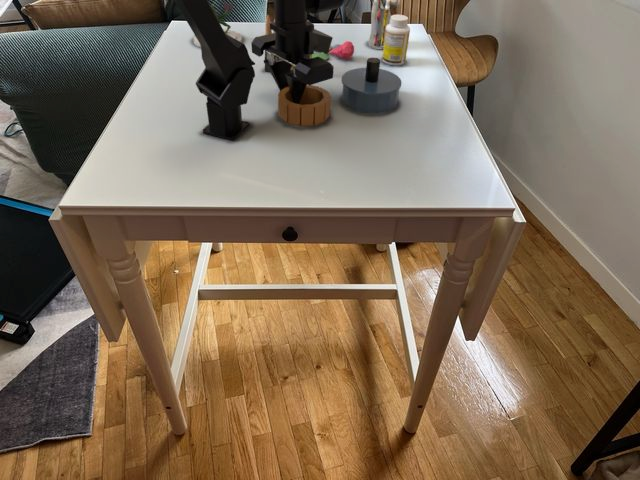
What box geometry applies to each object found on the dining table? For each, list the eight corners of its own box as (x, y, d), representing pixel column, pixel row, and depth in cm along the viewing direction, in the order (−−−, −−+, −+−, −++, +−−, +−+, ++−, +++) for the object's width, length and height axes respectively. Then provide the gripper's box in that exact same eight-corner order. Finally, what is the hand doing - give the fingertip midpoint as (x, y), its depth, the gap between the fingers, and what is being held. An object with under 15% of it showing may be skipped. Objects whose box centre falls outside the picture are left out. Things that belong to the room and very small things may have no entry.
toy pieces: (362, 50, 121) (364, 32, 118) (346, 66, 113) (347, 47, 110) (319, 42, 124) (319, 24, 121) (300, 57, 117) (300, 38, 114)
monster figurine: (192, 33, 126) (186, -10, 119) (238, 31, 128) (235, -12, 121) (195, 51, 117) (188, 5, 110) (244, 48, 119) (241, 3, 113)
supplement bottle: (394, 55, 119) (401, 11, 112) (409, 63, 116) (417, 18, 109) (377, 59, 117) (382, 15, 110) (391, 68, 114) (398, 22, 107)
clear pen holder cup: (362, 47, 123) (369, -18, 113) (370, 38, 128) (377, -25, 117) (389, 52, 121) (398, -14, 111) (396, 42, 126) (405, -21, 116)
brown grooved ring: (318, 132, 90) (318, 111, 88) (270, 121, 93) (269, 101, 90) (335, 110, 97) (337, 90, 94) (291, 100, 100) (291, 80, 97)
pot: (388, 120, 95) (391, 99, 92) (334, 108, 98) (335, 87, 95) (402, 96, 103) (405, 76, 100) (352, 86, 105) (353, 66, 103)
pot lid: (391, 103, 92) (395, 77, 88) (332, 91, 95) (334, 65, 91) (407, 79, 100) (411, 54, 97) (352, 68, 103) (354, 44, 100)
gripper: (359, 25, 84) (352, 107, 95) (296, -3, 95) (295, 74, 106) (308, 37, 79) (307, 123, 90) (247, 6, 90) (252, 87, 100)
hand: (291, 100), depth 96 cm, fingers open, 3 cm apart
